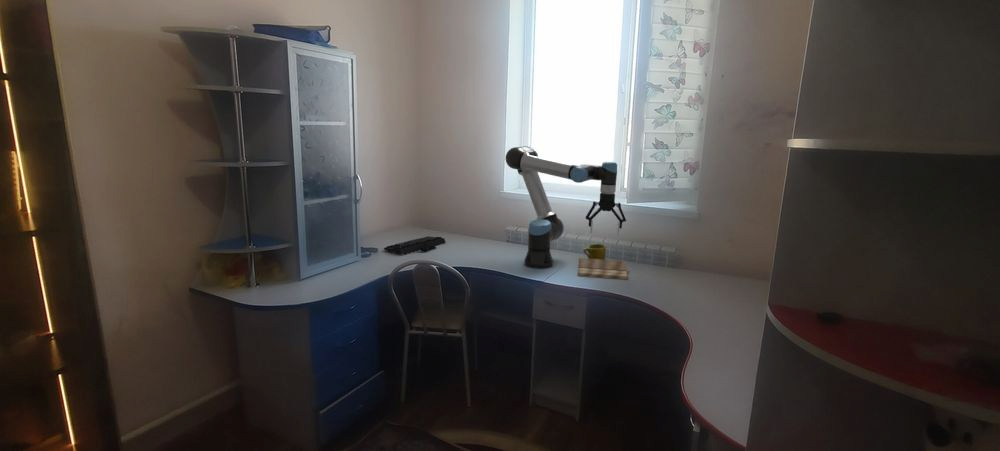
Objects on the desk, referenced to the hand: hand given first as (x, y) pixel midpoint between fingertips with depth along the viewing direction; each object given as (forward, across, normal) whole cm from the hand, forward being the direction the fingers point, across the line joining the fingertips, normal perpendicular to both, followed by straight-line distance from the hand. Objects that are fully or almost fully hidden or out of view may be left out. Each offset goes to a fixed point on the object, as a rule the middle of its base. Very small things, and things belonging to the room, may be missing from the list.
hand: (604, 233), depth 246 cm
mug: (+19, -4, +14) cm, 24 cm away
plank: (+17, 0, -3) cm, 17 cm away
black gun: (+20, -106, +17) cm, 109 cm away
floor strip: (+18, 0, -12) cm, 22 cm away
